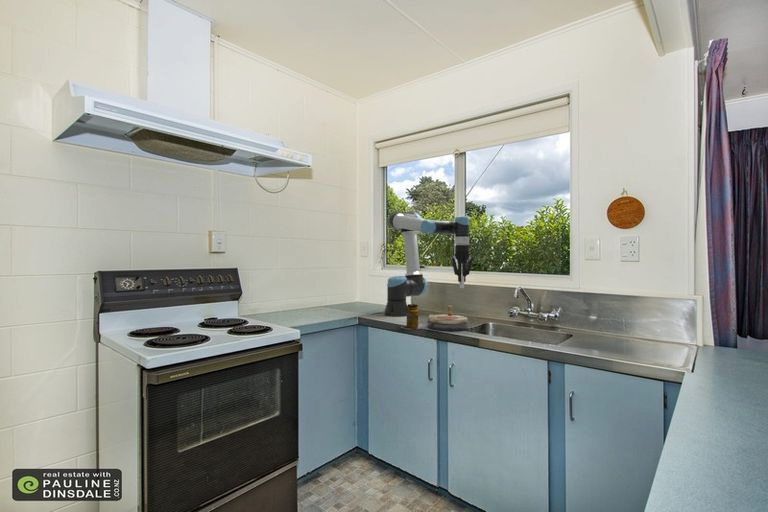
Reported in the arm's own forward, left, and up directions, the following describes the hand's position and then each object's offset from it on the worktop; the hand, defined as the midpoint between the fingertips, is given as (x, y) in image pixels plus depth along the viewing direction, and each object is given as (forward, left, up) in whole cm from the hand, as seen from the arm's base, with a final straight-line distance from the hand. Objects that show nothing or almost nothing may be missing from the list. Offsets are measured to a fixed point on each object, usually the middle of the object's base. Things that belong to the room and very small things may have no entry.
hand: (461, 288), depth 215 cm
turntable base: (+8, -11, -19) cm, 24 cm away
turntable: (+8, -11, -16) cm, 21 cm away
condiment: (+6, -31, -20) cm, 37 cm away
